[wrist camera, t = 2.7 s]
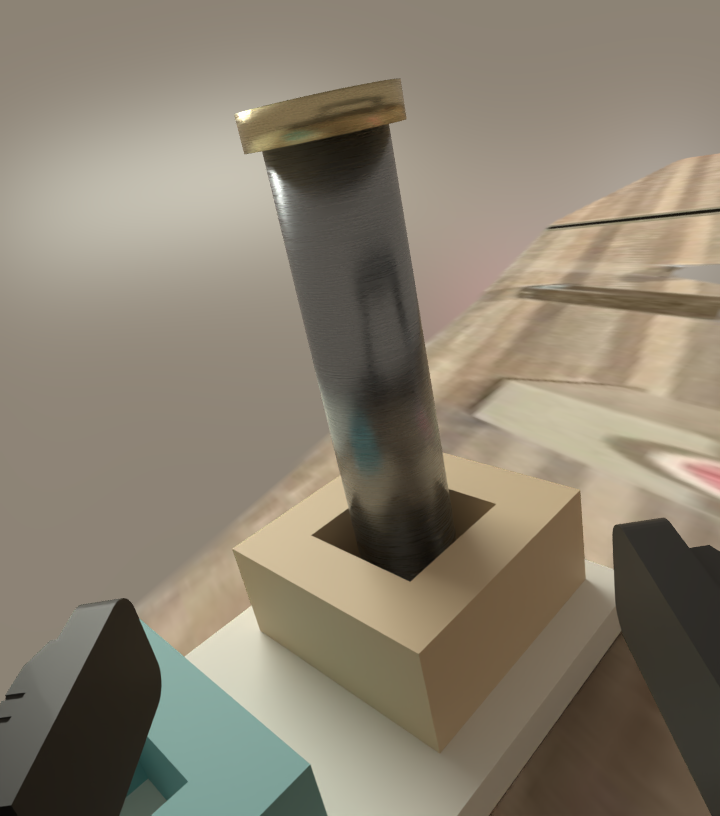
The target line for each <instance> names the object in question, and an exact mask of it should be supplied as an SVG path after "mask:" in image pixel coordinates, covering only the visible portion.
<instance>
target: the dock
mask: <svg viewBox="0 0 720 816" xmlns="http://www.w3.org/2000/svg"><path fill="white" fill-rule="evenodd" d="M443 458H444V465H445V471H446V477H447V483H448V489H449V495H450V501H451V507H452V514H453V520H454V526H455V532H456V538H457V540H456V541H455V542H454V543H453V544H452V545H450V546H449V547H448V548H447V549H446V550H445V551H444V552H443V553H442V554H440V555H439V556H438V557H437V558H436V559H435V560H434V561H433V562H432V563H430V564H429V565H428V566H427V567H426V568H425V569H424V570H423V571H422V572H420V573H419V574H418V575H417V576H416V577H415V578H414V579H413V580H412V581H410V582H409V581H407V580H405V579H403V578H401V577H399V576H397V575H395V574H392V573H390V572H388V571H386V570H384V569H382V568H380V567H377V566H375V565H373V564H371V563H369V562H367V561H365V560H363V559H361V558H360V554H359V550H358V545H357V541H356V537H355V533H354V529H353V525H352V521H351V516H350V512H349V508H348V504H347V500H346V496H345V492H344V488H343V483H342V479H341V475H340V476H338V477H337V478H335V479H334V480H332V481H331V482H329V483H328V484H327V485H325V486H324V487H322V488H321V489H319V490H318V491H316V492H315V493H313V494H312V495H310V496H309V497H307V498H306V499H304V500H303V501H302V502H300V503H299V504H297V505H296V506H294V507H293V508H291V509H290V510H288V511H287V512H285V513H284V514H282V515H281V516H279V517H278V518H277V519H275V520H274V521H272V522H271V523H269V524H268V525H266V526H265V527H263V528H262V529H260V530H259V531H257V532H256V533H254V534H253V535H252V536H250V537H249V538H247V539H246V540H244V541H243V542H241V543H240V544H238V545H237V546H235V547H234V548H232V549H233V552H234V555H235V558H236V561H237V564H238V567H239V570H240V573H241V576H242V579H243V582H244V585H245V588H246V591H247V593H248V596H249V599H250V602H251V605H252V606H250V607H249V608H248V609H246V610H245V611H244V612H242V613H241V614H240V615H239V616H237V617H236V618H235V619H233V620H232V621H231V622H229V623H228V624H227V625H225V626H224V627H223V628H221V629H220V630H219V631H218V632H216V633H215V634H214V635H212V636H211V637H210V638H208V639H207V640H206V641H204V642H203V643H202V644H200V645H199V646H198V647H197V648H195V649H194V650H193V651H191V652H190V653H189V654H187V655H186V656H185V657H184V656H183V655H181V654H180V653H179V652H178V651H177V650H176V649H174V648H173V647H172V646H171V645H170V644H169V643H167V642H166V641H165V640H164V639H163V638H162V637H160V636H159V635H158V634H157V633H156V632H154V631H153V630H152V629H151V628H150V627H149V626H147V625H146V624H145V623H144V622H143V621H142V620H140V619H139V620H140V622H141V624H142V626H143V629H144V631H145V633H146V636H147V638H148V640H149V643H150V645H151V647H152V650H153V652H154V654H155V657H156V659H157V661H158V664H159V667H160V672H161V680H162V687H161V697H160V702H159V705H158V708H157V711H156V714H155V716H154V719H153V722H152V725H151V728H150V730H149V733H148V736H147V739H146V742H145V745H144V747H143V750H142V753H141V756H140V759H139V762H138V764H137V767H136V770H135V773H134V776H133V779H132V781H131V784H130V787H129V790H128V793H127V796H126V798H125V801H124V804H123V807H122V810H121V813H120V815H119V816H489V814H490V813H491V812H492V810H493V809H494V808H495V806H496V805H497V803H498V802H499V801H500V799H501V798H502V796H503V795H504V794H505V792H506V791H507V789H508V788H509V787H510V785H511V784H512V782H513V781H514V780H515V778H516V777H517V775H518V774H519V773H520V771H521V770H522V769H523V767H524V766H525V764H526V763H527V762H528V760H529V759H530V757H531V756H532V755H533V753H534V752H535V750H536V749H537V748H538V746H539V745H540V743H541V742H542V741H543V739H544V738H545V736H546V735H547V734H548V732H549V731H550V730H551V728H552V727H553V725H554V724H555V723H556V721H557V720H558V718H559V717H560V716H561V714H562V713H563V711H564V710H565V709H566V707H567V706H568V704H569V703H570V702H571V700H572V699H573V697H574V696H575V695H576V693H577V692H578V691H579V689H580V688H581V686H582V685H583V684H584V682H585V681H586V679H587V678H588V677H589V675H590V674H591V672H592V671H593V670H594V668H595V667H596V665H597V664H598V663H599V661H600V660H601V658H602V657H603V656H604V654H605V653H606V652H607V650H608V649H609V647H610V646H611V645H612V643H613V642H614V640H615V639H616V638H617V636H618V635H619V633H620V632H621V631H622V630H621V627H620V624H619V620H618V616H617V611H616V604H615V587H614V569H612V568H609V567H606V566H603V565H600V564H597V563H594V562H591V561H589V560H586V559H585V557H584V542H583V526H582V511H581V495H580V490H579V489H575V488H571V487H568V486H564V485H560V484H557V483H553V482H549V481H545V480H542V479H538V478H534V477H531V476H527V475H523V474H520V473H516V472H512V471H509V470H505V469H501V468H497V467H494V466H490V465H486V464H483V463H479V462H475V461H472V460H468V459H464V458H461V457H457V456H453V455H449V454H446V453H443Z"/></svg>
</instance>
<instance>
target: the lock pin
mask: <svg viewBox="0 0 720 816" xmlns="http://www.w3.org/2000/svg"><path fill="white" fill-rule="evenodd" d="M235 119H236V123H237V127H238V131H239V135H240V139H241V143H242V147H243V151H244V154H249V153H255V152H261V151H262V152H263V157H264V161H265V165H266V169H267V173H268V177H269V181H270V186H271V189H272V194H273V198H274V202H275V206H276V210H277V215H278V219H279V223H280V226H281V231H282V235H283V239H284V243H285V248H286V252H287V256H288V260H289V264H290V268H291V272H292V276H293V281H294V285H295V289H296V293H297V297H298V301H299V305H300V309H301V314H302V318H303V322H304V326H305V330H306V334H307V339H308V343H309V347H310V351H311V355H312V359H313V363H314V368H315V371H316V376H317V380H318V384H319V388H320V392H321V396H322V400H323V404H324V409H325V413H326V417H327V421H328V425H329V430H330V434H331V438H332V442H333V446H334V450H335V454H336V459H337V463H338V467H339V471H340V475H341V479H342V483H343V488H344V492H345V496H346V500H347V504H348V508H349V512H350V516H351V521H352V525H353V529H354V533H355V537H356V541H357V545H358V550H359V554H360V558H361V559H363V560H365V561H367V562H369V563H371V564H373V565H375V566H377V567H380V568H382V569H384V570H386V571H388V572H390V573H392V574H395V575H397V576H399V577H401V578H403V579H405V580H407V581H409V582H410V581H412V580H413V579H414V578H415V577H416V576H417V575H418V574H419V573H420V572H422V571H423V570H424V569H425V568H426V567H427V566H428V565H429V564H430V563H432V562H433V561H434V560H435V559H436V558H437V557H438V556H439V555H440V554H442V553H443V552H444V551H445V550H446V549H447V548H448V547H449V546H450V545H452V544H453V543H454V542H455V541H456V540H457V538H456V532H455V526H454V520H453V514H452V507H451V501H450V495H449V489H448V483H447V477H446V471H445V465H444V458H443V452H442V446H441V440H440V434H439V428H438V422H437V416H436V409H435V403H434V397H433V391H432V385H431V379H430V373H429V367H428V360H427V354H426V348H425V342H424V336H423V330H422V324H421V318H420V312H419V305H418V299H417V293H416V287H415V281H414V276H413V269H412V263H411V257H410V250H409V244H408V238H407V232H406V226H405V220H404V214H403V207H402V202H401V195H400V189H399V183H398V177H397V171H396V165H395V158H394V153H393V146H392V140H391V134H390V128H389V124H390V123H394V122H398V121H402V120H406V112H405V105H404V99H403V92H402V86H401V79H390V80H384V81H378V82H372V83H367V84H362V85H357V86H352V87H347V88H342V89H337V90H332V91H327V92H323V93H318V94H313V95H309V96H304V97H300V98H296V99H292V100H287V101H283V102H279V103H274V104H270V105H266V106H262V107H258V108H254V109H251V110H247V111H244V112H241V113H238V114H235Z"/></svg>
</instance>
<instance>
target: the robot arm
mask: <svg viewBox="0 0 720 816" xmlns="http://www.w3.org/2000/svg"><path fill="white" fill-rule="evenodd" d="M613 562H614V587H615V604H616V611H617V616H618V620H619V624H620V627H621V630H622V633H623V636H624V638H625V641H626V643H627V645H628V647H629V649H630V651H631V653H632V655H633V657H634V659H635V661H636V663H637V665H638V667H639V669H640V671H641V673H642V675H643V677H644V679H645V681H646V683H647V685H648V688H649V690H650V692H651V694H652V696H653V698H654V700H655V702H656V704H657V706H658V708H659V710H660V712H661V714H662V716H663V718H664V720H665V722H666V724H667V726H668V728H669V730H670V732H671V734H672V736H673V738H674V740H675V742H676V744H677V746H678V748H679V750H680V752H681V755H682V757H683V759H684V761H685V763H686V765H687V767H688V769H689V771H690V773H691V775H692V777H693V779H694V781H695V783H696V785H697V787H698V789H699V791H700V793H701V795H702V797H703V799H704V801H705V803H706V805H707V807H708V809H709V811H710V813H711V815H712V816H720V551H718V550H716V549H715V548H713V547H712V546H710V545H706V546H700V547H693V548H689V547H688V546H687V544H686V543H685V542H684V540H683V539H682V538H681V536H680V535H679V534H678V532H677V531H676V530H675V528H674V527H673V526H672V524H671V523H670V522H669V521H668V520H667V519H665V518H658V519H651V520H644V521H638V522H631V523H625V524H618V525H615V526H614V528H613ZM161 687H162V680H161V672H160V667H159V664H158V661H157V659H156V657H155V654H154V652H153V650H152V647H151V645H150V643H149V640H148V638H147V636H146V633H145V631H144V629H143V626H142V624H141V622H140V620H139V617H138V615H137V613H136V610H135V608H134V606H133V604H132V603H131V602H130V601H129V600H128V599H125V598H121V599H115V600H108V601H102V602H95V603H90V604H83V605H80V606H78V607H77V608H76V609H75V610H74V612H73V613H72V615H71V617H70V618H69V620H68V622H67V623H66V625H65V627H64V629H63V630H62V632H61V634H60V635H59V637H58V639H57V640H51V641H49V642H48V643H47V644H46V645H45V646H44V647H43V648H42V649H41V650H40V651H39V652H38V653H37V654H36V655H35V656H34V657H33V658H32V659H31V660H30V661H29V662H28V663H27V664H25V665H24V667H23V668H22V669H21V671H20V673H19V674H18V676H17V677H16V679H15V681H14V682H13V684H12V685H11V687H10V689H9V690H8V692H7V694H6V695H5V696H6V700H5V701H2V702H1V703H0V816H119V815H120V813H121V810H122V807H123V804H124V801H125V798H126V796H127V793H128V790H129V787H130V784H131V781H132V779H133V776H134V773H135V770H136V767H137V764H138V762H139V759H140V756H141V753H142V750H143V747H144V745H145V742H146V739H147V736H148V733H149V730H150V728H151V725H152V722H153V719H154V716H155V714H156V711H157V708H158V705H159V702H160V697H161Z"/></svg>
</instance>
